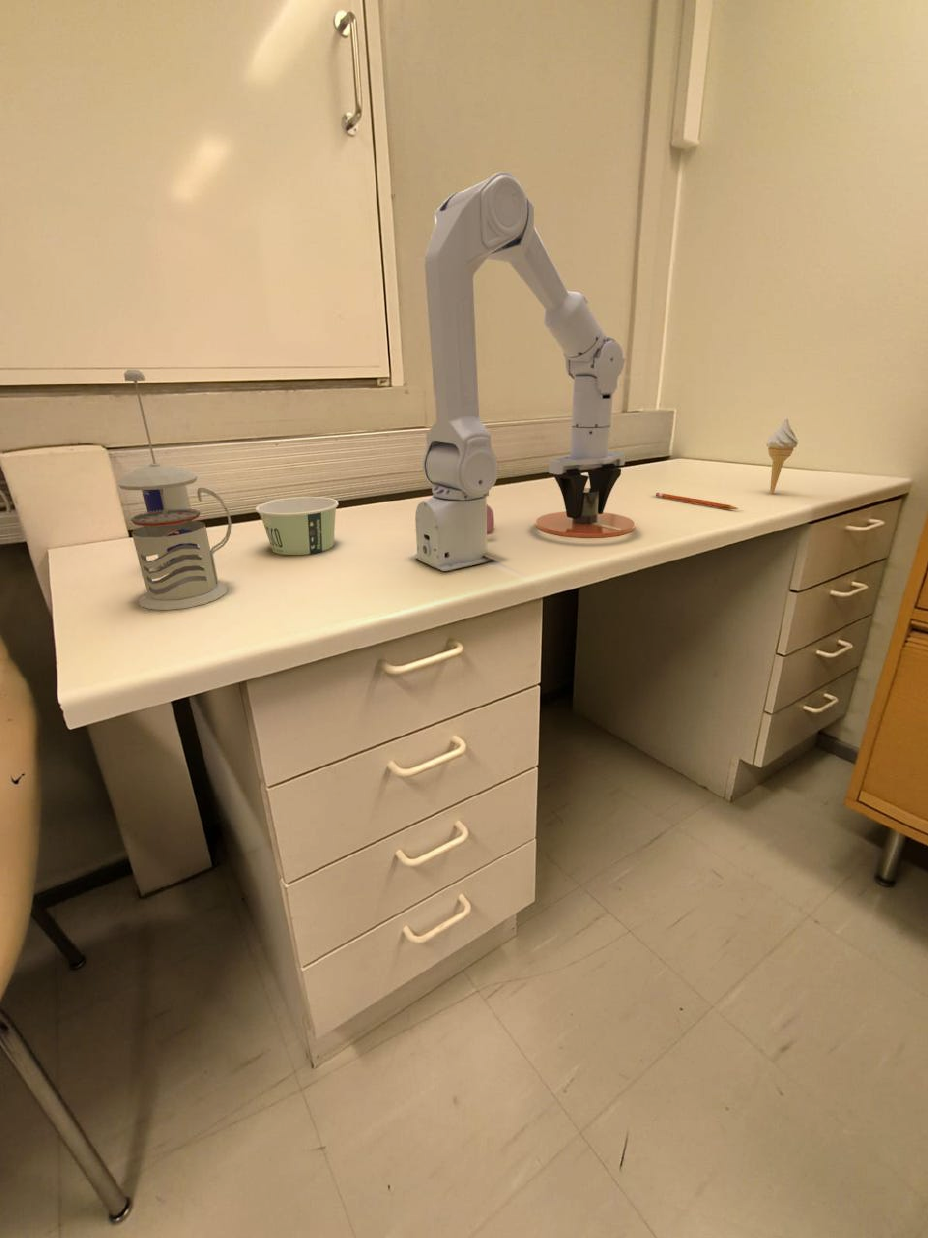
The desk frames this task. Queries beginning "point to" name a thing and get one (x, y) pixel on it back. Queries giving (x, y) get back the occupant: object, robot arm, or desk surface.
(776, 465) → the ice cream cone
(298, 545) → the food container
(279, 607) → the desk surface
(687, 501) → the pencil
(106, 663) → the desk surface
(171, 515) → the french press
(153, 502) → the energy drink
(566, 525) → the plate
